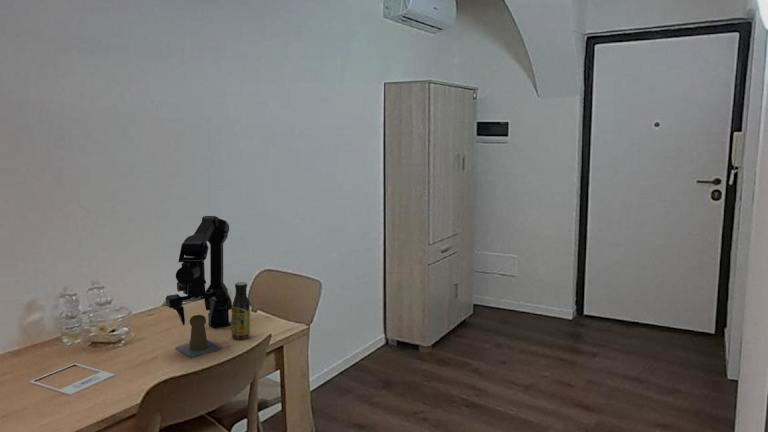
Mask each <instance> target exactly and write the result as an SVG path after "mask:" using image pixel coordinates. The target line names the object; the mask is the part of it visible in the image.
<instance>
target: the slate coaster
mask: <svg viewBox="0 0 768 432" xmlns="http://www.w3.org/2000/svg"><path fill="white" fill-rule="evenodd" d="M207 343H208V348H207V349H204V350H200V351H193V350H190V343H187V344H186V343H185V344H183V345H178V346H176V347H175V350H176V351H178V352H180V353H182V354H183V355H185V356H186V357H188V358H190V359H193V358H194V359H195V358H197V357H201V356H204V355H208V354H210V353H214V352H218V351H221V350H223V347H221V346H220V345H218V344H216V343H214V342H212V341H210V340H209V339H207Z"/></svg>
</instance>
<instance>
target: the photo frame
mask: <svg viewBox="0 0 768 432" xmlns="http://www.w3.org/2000/svg"><path fill="white" fill-rule="evenodd" d="M73 366H76V367H77V368H81V369H84V370H87V369H88V371H91V370H92V371H91V372H95V371H96V372H95V374H92V375H91V376H87V377H85V378H83V379H81V380H78V381H77V382H74V383H72V384H69V385H67V386H65V387H63V388H60V389H59V388H56V387H54V386H50V385H47V384H43V383H42V382H41V383H40V382H37V381H38V380H40V379H43V378H45V377H48V376H50V375H52V374H55V373H58V372H61V371H63V370H66V369H68V368H70V367H73ZM98 372H99V373H98ZM113 376H114V377H116V374H115V373H111V372H108V371H105V370H100V369H97V368H94V367H91V366H87V365H83V364H79V363H76V362H75V363H71V364H69V365H66V366H65V367H64V366H63V367H61V368H59V369H56V370H55V371H52V372H49V373H47V374H45V375H41V376H39V377H37V378H34V379H30V380H29V381H28V383H29V384H31V385H35V386H38V387H40V386H41V388H44V389H47V388H48V389H47V390H50V389H51V390H50V391H53V390H54V391H53V392H56V391H58V392H57V393H59V392H61V393H60V394H63V393H64V394H63V395H66V394H67V395H66V396H69V395H72V396H73V394H74V395H76V394H78V393H80V392H79V391H81V392H82V390H83V391H85V390H87V389H90V388H92V387H94V386H96V385H99V384H101V383H103V382H106V381H107V379H108V380H110V379H111V377H112V378H114V377H113ZM109 378H110V379H109ZM100 382H101V383H100ZM98 383H99V384H98ZM95 384H96V385H95ZM93 385H94V386H93ZM91 386H92V387H91ZM89 387H90V388H89ZM86 388H87V389H86ZM84 389H85V390H84ZM77 392H78V393H77ZM75 393H76V394H75Z"/></svg>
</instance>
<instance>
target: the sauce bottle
mask: <svg viewBox="0 0 768 432" xmlns="http://www.w3.org/2000/svg"><path fill="white" fill-rule="evenodd" d="M234 288H235V296H234V298H233V301H232V309H231V337H232V339H233V340H245V339H247V338H249V336H250V328H251V323H250V322H251V321H250V320H251V318H250V315H251V309H250V299H249V298H248V296H247V288H248V283H247V282H246V281H237V282H235V283H234Z"/></svg>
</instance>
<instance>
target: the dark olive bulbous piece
mask: <svg viewBox="0 0 768 432" xmlns="http://www.w3.org/2000/svg"><path fill="white" fill-rule="evenodd" d="M189 324H190V327H191V329H190V340H189V344H190V350H193V351H200V350H204V349H207V348H208V343H207V340H208V339H207V331H206V328H205V327H206V326H205V325H206V324H207V318H206V316H205V315H203V314H195V315H192V316H191V317H190V318H189Z"/></svg>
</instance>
